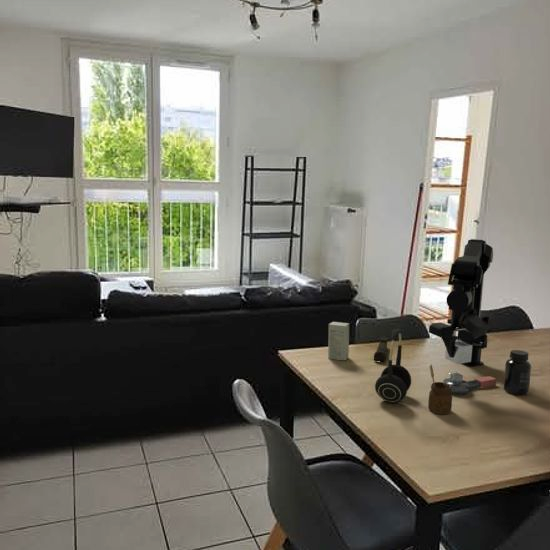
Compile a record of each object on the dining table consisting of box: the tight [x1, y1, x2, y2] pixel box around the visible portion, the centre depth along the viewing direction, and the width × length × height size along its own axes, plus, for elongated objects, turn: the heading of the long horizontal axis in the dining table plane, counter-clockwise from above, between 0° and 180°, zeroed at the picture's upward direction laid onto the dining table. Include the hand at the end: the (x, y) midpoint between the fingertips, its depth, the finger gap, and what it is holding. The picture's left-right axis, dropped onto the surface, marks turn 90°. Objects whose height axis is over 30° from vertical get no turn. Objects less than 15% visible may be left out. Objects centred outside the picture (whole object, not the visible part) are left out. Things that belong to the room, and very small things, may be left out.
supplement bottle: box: [503, 349, 532, 396], centre depth 152 cm, size 7×7×12 cm
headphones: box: [374, 328, 412, 403], centre depth 145 cm, size 9×15×20 cm, turn 157°
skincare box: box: [327, 321, 350, 361], centre depth 178 cm, size 6×4×12 cm
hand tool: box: [373, 335, 388, 363], centre depth 184 cm, size 19×4×5 cm, turn 161°
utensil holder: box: [427, 364, 454, 415], centre depth 138 cm, size 6×6×12 cm
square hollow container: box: [445, 339, 472, 365], centre depth 151 cm, size 5×5×5 cm
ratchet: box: [442, 372, 497, 396], centre depth 155 cm, size 18×7×5 cm, turn 114°
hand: (458, 356), depth 151 cm, fingers closed on square hollow container, 5 cm apart
